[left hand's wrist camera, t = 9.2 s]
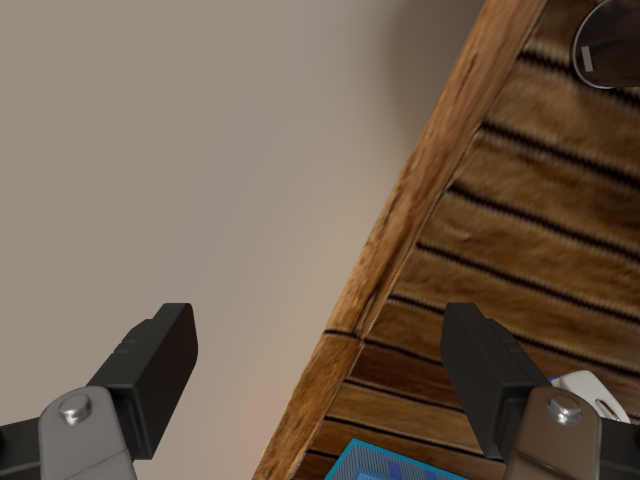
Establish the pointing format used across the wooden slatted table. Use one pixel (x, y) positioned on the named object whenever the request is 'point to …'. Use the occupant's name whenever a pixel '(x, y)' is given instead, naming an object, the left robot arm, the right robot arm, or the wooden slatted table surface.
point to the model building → (382, 465)
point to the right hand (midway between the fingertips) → (559, 397)
